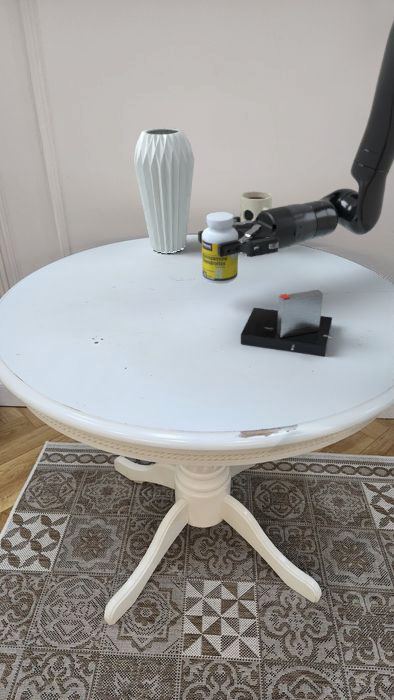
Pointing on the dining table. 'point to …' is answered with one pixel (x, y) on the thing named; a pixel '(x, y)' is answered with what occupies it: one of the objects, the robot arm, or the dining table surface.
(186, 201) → the vase
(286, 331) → the grey battery block
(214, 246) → the pill bottle
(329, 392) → the dining table surface
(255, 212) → the character mug
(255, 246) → the robot arm
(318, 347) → the black base plate
